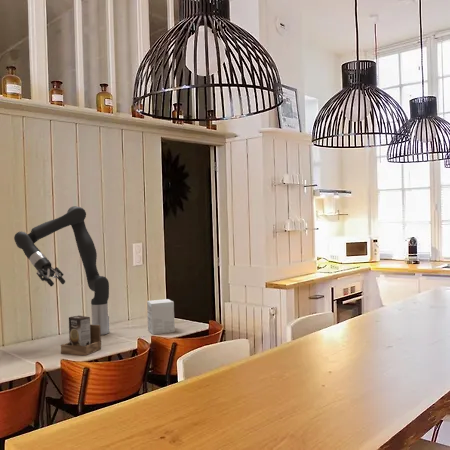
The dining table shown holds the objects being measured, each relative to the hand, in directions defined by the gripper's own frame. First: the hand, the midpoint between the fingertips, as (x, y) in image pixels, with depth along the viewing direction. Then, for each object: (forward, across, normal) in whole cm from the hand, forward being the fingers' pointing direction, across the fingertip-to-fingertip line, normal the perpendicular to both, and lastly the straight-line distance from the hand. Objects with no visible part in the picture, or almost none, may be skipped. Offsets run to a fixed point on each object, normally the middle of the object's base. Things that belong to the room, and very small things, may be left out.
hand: (58, 284), depth 252 cm
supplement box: (+46, +47, 0) cm, 66 cm away
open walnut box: (+34, -4, +12) cm, 36 cm away
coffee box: (+34, -4, +12) cm, 36 cm away
